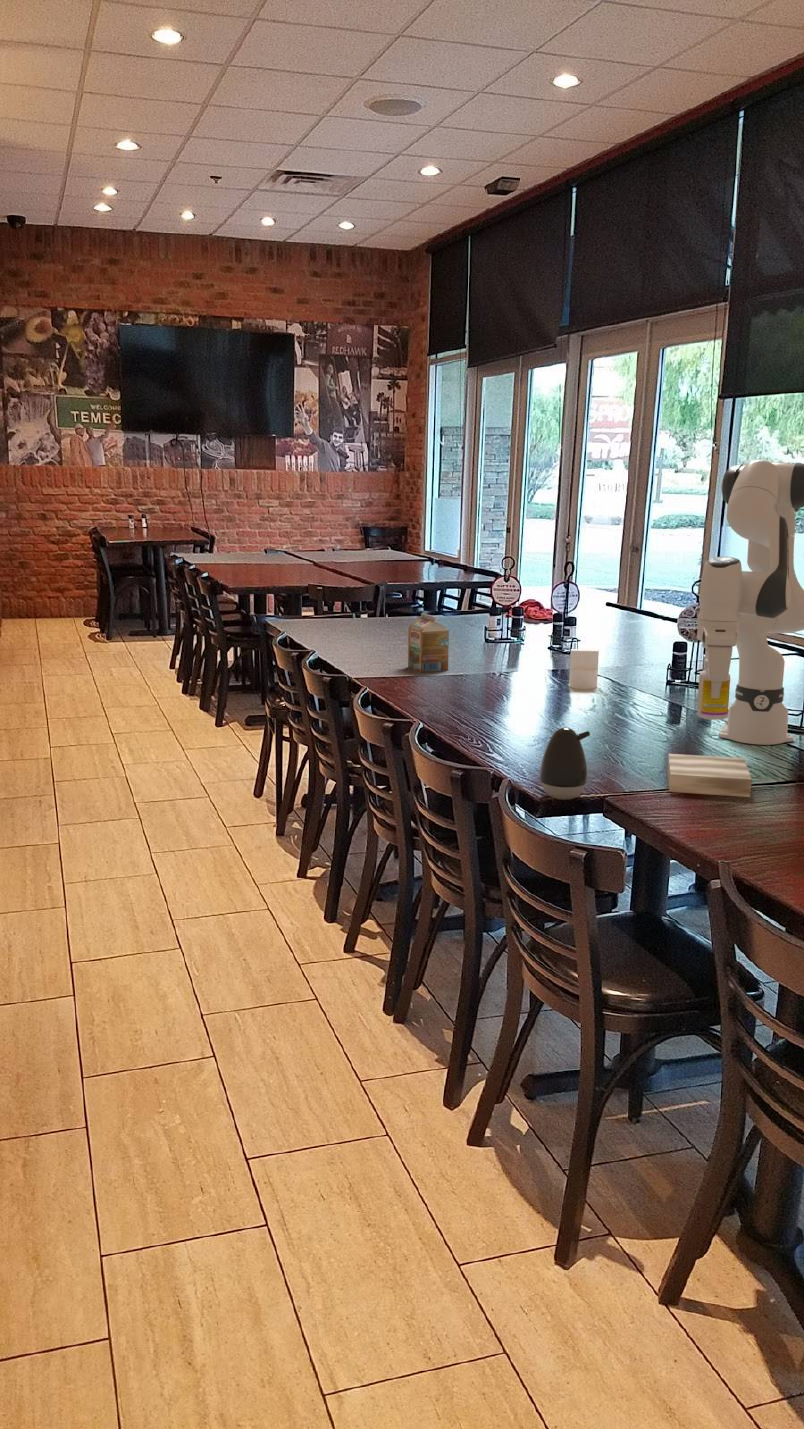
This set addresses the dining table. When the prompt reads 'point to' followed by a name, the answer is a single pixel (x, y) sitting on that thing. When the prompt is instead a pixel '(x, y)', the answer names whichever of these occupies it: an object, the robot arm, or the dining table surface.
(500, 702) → the dining table surface
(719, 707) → the supplement bottle
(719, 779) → the birch plinth
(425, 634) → the milk carton
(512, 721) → the dining table surface
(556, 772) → the pump dispenser
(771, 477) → the robot arm
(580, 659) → the base with upright slab
